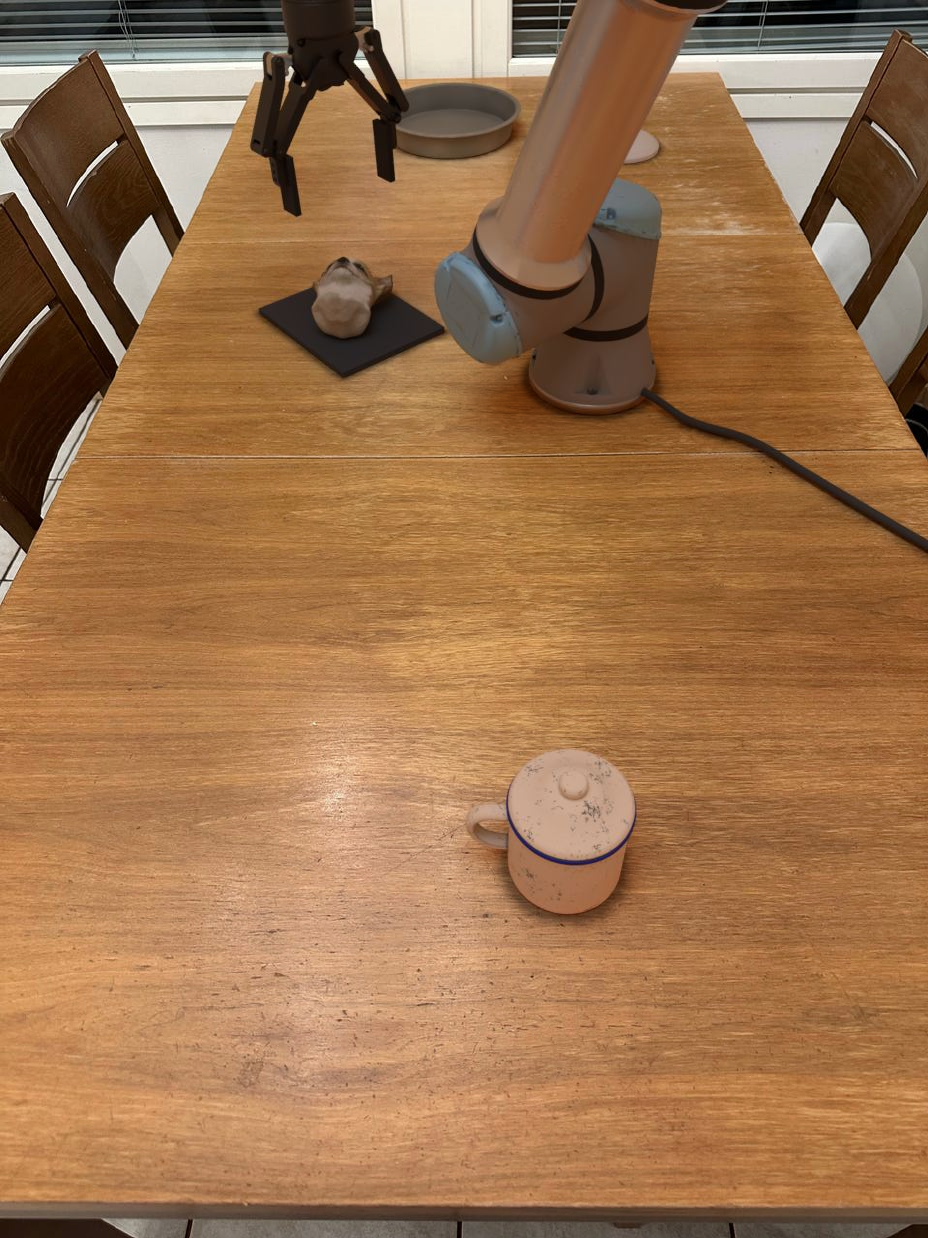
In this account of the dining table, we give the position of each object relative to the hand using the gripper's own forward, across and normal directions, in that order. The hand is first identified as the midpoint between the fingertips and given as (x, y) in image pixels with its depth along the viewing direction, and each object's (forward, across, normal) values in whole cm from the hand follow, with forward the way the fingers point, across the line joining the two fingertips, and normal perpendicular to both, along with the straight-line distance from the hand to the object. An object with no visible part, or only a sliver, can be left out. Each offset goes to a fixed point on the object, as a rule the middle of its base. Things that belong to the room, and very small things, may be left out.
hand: (340, 195), depth 113 cm
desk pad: (+17, +1, 0) cm, 17 cm away
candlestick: (+17, -66, -16) cm, 70 cm away
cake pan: (+16, -49, -40) cm, 65 cm away
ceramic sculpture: (+16, +1, 0) cm, 16 cm away
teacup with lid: (+18, +34, +73) cm, 83 cm away
